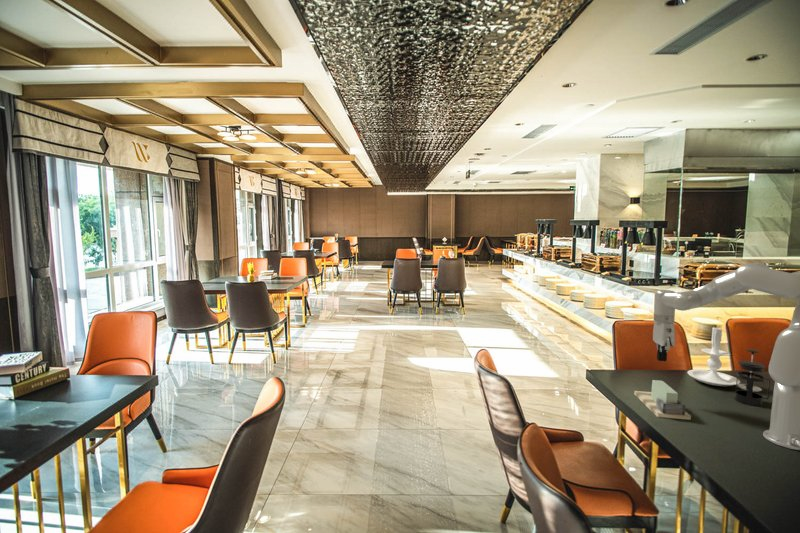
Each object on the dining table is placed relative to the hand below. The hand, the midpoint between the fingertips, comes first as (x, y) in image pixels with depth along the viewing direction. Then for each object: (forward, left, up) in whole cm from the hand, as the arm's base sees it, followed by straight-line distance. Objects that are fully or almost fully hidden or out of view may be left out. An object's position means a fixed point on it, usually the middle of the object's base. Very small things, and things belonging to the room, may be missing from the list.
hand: (661, 360), depth 178 cm
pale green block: (-9, +2, -16) cm, 19 cm away
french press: (+6, -39, -18) cm, 43 cm away
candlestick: (+30, -37, -18) cm, 51 cm away
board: (-7, +2, -18) cm, 19 cm away
